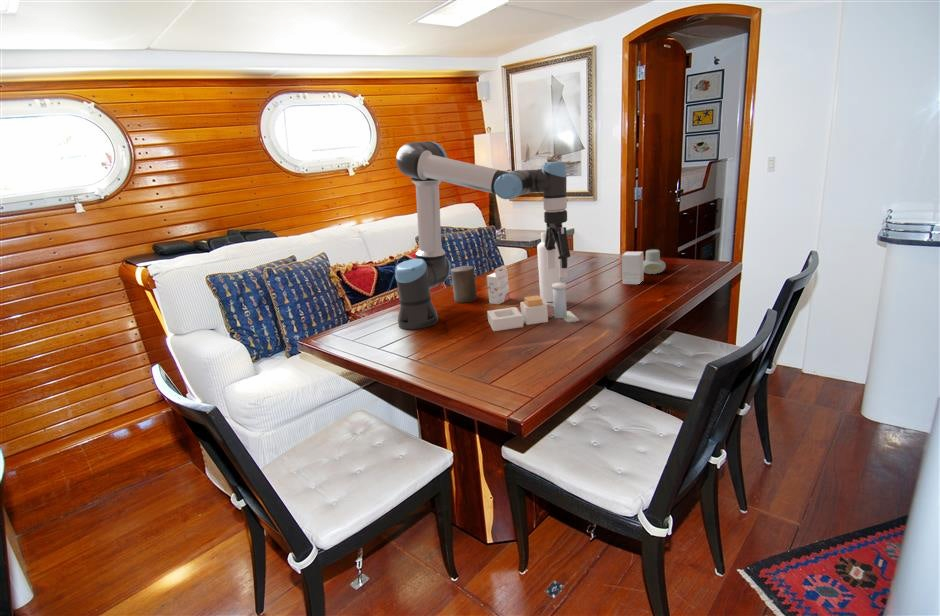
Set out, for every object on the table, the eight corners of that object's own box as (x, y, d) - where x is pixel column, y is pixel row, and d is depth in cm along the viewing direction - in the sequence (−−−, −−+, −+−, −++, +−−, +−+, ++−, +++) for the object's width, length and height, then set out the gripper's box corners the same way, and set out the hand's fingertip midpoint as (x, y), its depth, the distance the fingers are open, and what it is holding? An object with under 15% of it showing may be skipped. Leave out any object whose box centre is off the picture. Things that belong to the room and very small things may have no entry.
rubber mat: (551, 325, 165) (551, 323, 165) (543, 316, 174) (543, 314, 174) (579, 321, 166) (579, 319, 166) (569, 312, 175) (569, 310, 175)
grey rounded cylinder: (556, 320, 168) (554, 287, 164) (552, 315, 172) (550, 283, 168) (569, 318, 168) (567, 285, 164) (564, 314, 173) (563, 281, 169)
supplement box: (644, 280, 205) (644, 251, 201) (639, 285, 199) (639, 255, 195) (626, 279, 209) (626, 251, 205) (621, 284, 203) (621, 254, 199)
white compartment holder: (493, 333, 163) (492, 314, 161) (488, 324, 173) (486, 305, 170) (549, 325, 165) (548, 306, 163) (541, 316, 175) (539, 298, 172)
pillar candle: (480, 299, 202) (476, 265, 198) (458, 304, 199) (454, 269, 195) (471, 295, 211) (468, 261, 207) (451, 299, 208) (447, 265, 204)
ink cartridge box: (500, 297, 203) (497, 263, 198) (510, 298, 200) (507, 264, 195) (488, 303, 196) (485, 268, 192) (498, 304, 193) (495, 269, 189)
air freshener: (639, 275, 213) (639, 253, 210) (639, 270, 220) (639, 249, 217) (666, 274, 209) (666, 252, 206) (665, 270, 217) (665, 248, 214)
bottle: (552, 308, 182) (548, 235, 174) (536, 304, 188) (531, 233, 180) (565, 302, 187) (562, 231, 178) (550, 299, 193) (546, 230, 184)
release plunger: (529, 323, 166) (527, 301, 164) (525, 318, 171) (524, 297, 169) (543, 321, 167) (542, 299, 164) (539, 316, 172) (538, 295, 169)
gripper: (579, 213, 147) (580, 280, 154) (554, 205, 171) (556, 263, 177) (556, 215, 147) (558, 282, 153) (534, 207, 170) (536, 266, 177)
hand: (557, 272), depth 165 cm, fingers open, 13 cm apart
